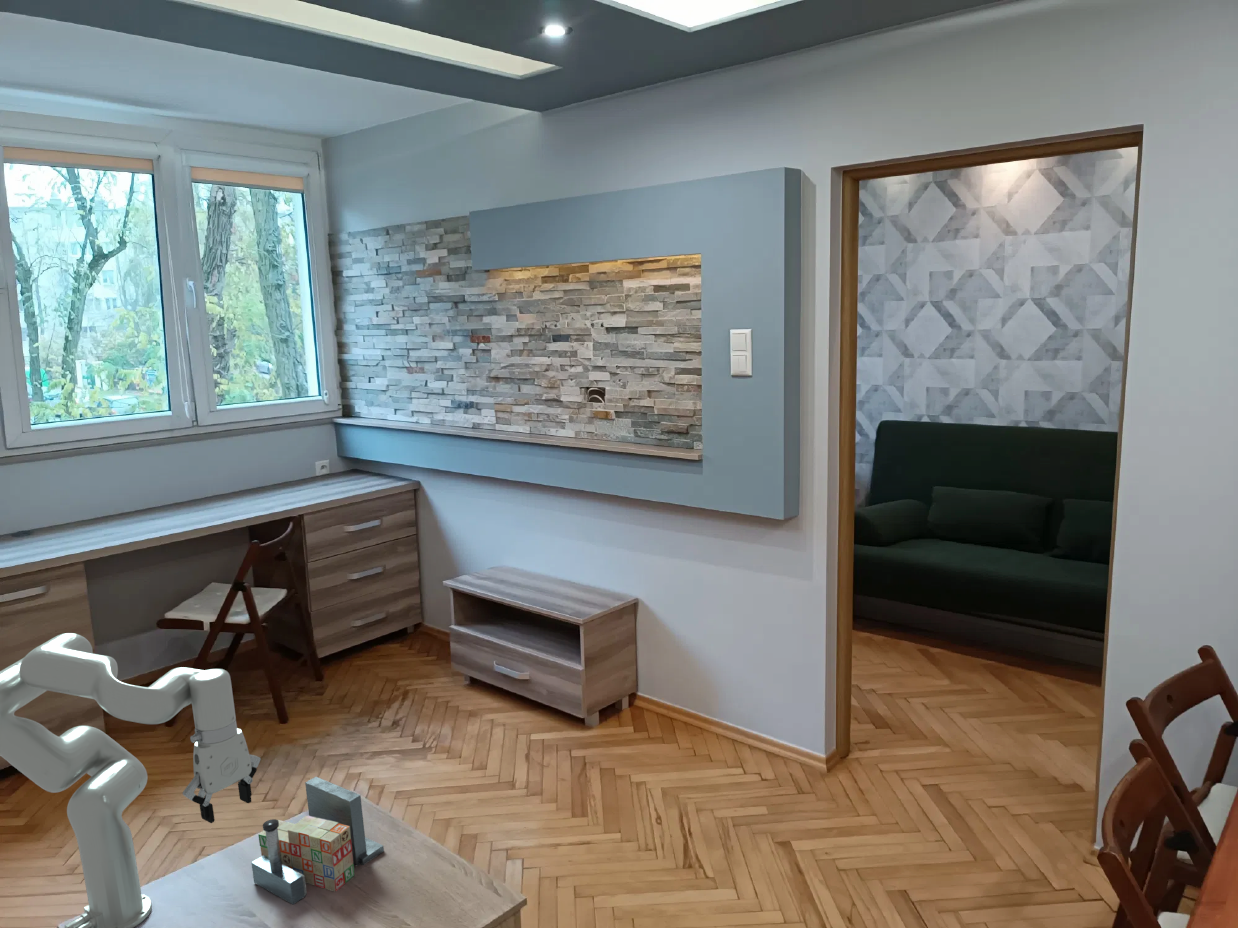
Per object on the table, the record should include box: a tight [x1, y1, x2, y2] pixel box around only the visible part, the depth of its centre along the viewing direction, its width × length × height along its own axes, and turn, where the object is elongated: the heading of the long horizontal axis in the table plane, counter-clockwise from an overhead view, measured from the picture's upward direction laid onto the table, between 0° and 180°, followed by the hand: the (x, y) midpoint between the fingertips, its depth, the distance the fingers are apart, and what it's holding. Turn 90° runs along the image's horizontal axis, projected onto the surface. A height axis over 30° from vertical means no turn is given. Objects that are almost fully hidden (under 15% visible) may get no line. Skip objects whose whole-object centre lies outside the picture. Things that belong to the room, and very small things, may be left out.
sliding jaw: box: [251, 818, 308, 905], centre depth 192 cm, size 4×14×16 cm, turn 55°
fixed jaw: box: [304, 776, 385, 867], centre depth 206 cm, size 8×18×16 cm, turn 55°
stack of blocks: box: [257, 815, 355, 893], centre depth 198 cm, size 21×6×12 cm, turn 66°
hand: (227, 810), depth 181 cm, fingers open, 7 cm apart
